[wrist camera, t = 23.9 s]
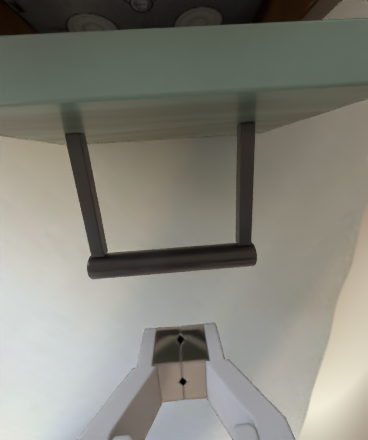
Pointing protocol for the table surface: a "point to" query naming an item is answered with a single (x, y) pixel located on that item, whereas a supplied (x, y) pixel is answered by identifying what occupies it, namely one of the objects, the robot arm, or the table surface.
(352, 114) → the table surface
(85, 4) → the mini dv tape
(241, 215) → the drawer
